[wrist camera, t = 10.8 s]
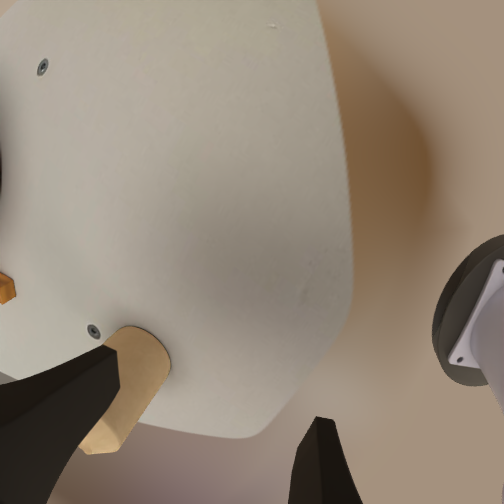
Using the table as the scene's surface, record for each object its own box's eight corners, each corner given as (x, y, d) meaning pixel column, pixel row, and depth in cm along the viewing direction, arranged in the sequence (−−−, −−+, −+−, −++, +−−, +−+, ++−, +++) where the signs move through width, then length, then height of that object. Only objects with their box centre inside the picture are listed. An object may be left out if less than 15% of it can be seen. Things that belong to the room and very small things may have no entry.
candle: (104, 344, 24) (33, 416, 14) (132, 312, 22) (46, 395, 12) (150, 388, 24) (93, 470, 15) (184, 363, 22) (121, 462, 13)
